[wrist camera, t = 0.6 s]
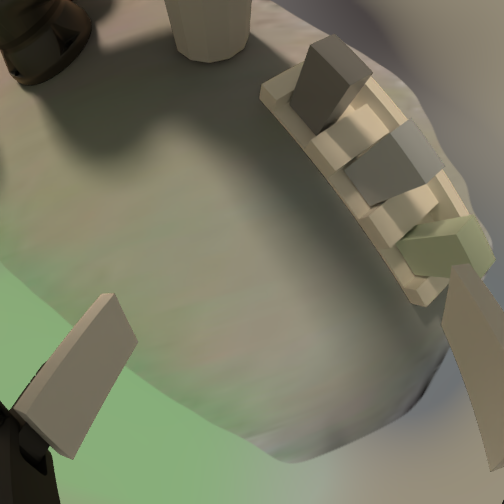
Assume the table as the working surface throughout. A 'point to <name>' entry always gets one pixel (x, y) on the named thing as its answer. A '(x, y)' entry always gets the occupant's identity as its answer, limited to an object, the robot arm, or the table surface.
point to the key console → (332, 167)
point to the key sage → (446, 247)
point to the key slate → (395, 164)
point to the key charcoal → (328, 83)
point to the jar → (209, 27)
